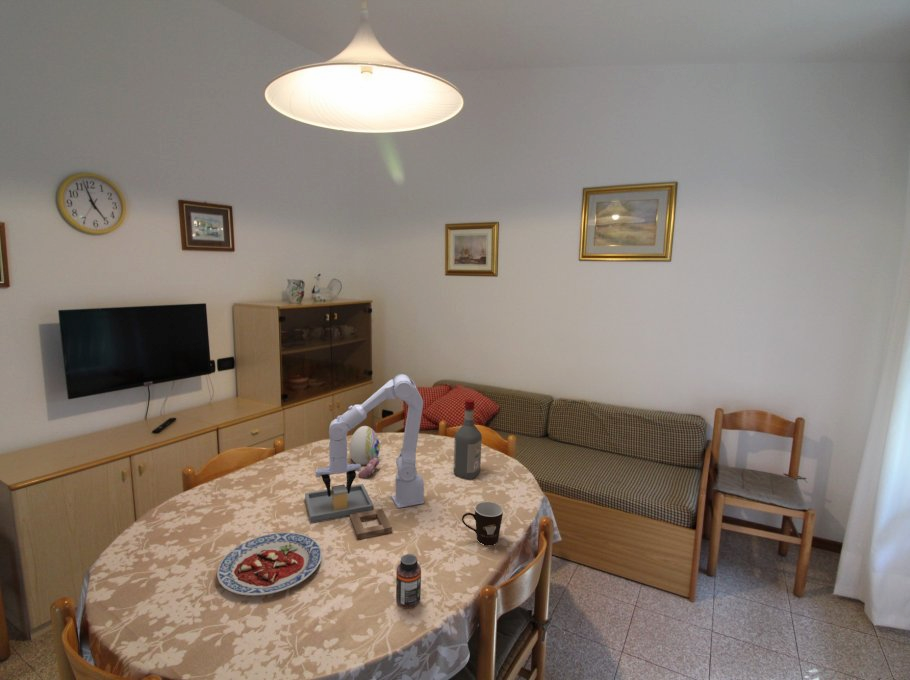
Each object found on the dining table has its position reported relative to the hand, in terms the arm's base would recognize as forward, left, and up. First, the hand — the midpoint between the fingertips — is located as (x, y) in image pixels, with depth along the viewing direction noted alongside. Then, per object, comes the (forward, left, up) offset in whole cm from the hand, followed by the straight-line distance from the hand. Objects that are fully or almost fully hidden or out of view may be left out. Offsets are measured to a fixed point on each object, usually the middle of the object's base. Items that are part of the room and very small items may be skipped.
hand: (338, 493), depth 154 cm
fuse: (0, +2, -4) cm, 4 cm away
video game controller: (-15, -20, -4) cm, 26 cm away
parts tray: (0, 0, -4) cm, 4 cm away
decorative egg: (-16, -32, -4) cm, 36 cm away
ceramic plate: (+22, +26, -5) cm, 34 cm away
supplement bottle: (-8, +51, -4) cm, 52 cm away
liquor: (-51, -7, -4) cm, 52 cm away
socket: (-7, +16, -4) cm, 18 cm away
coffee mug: (-37, +34, -4) cm, 51 cm away
